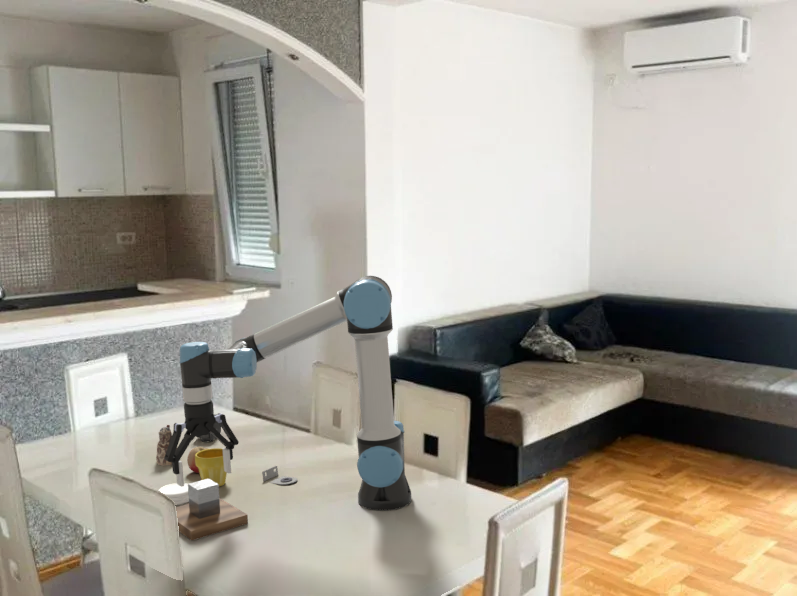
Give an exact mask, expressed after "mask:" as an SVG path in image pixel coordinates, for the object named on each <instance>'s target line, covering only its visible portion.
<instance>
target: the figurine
mask: <svg viewBox="0 0 797 596" xmlns="http://www.w3.org/2000/svg"><path fill="white" fill-rule="evenodd" d="M172 434H173V432H172V430H171V426H170V424H166V426H163V427H161V428H160V430H159V431H158V438H159V441H158V442H157V445H156V457H155V460H156V464H158V465H159V466H171V465H172V462H168V461H166V460H165V459H164V457H165V454H166V451H167V448H168V446H169V443H170V440H171V437H172ZM176 449H177V448H176Z"/></svg>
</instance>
